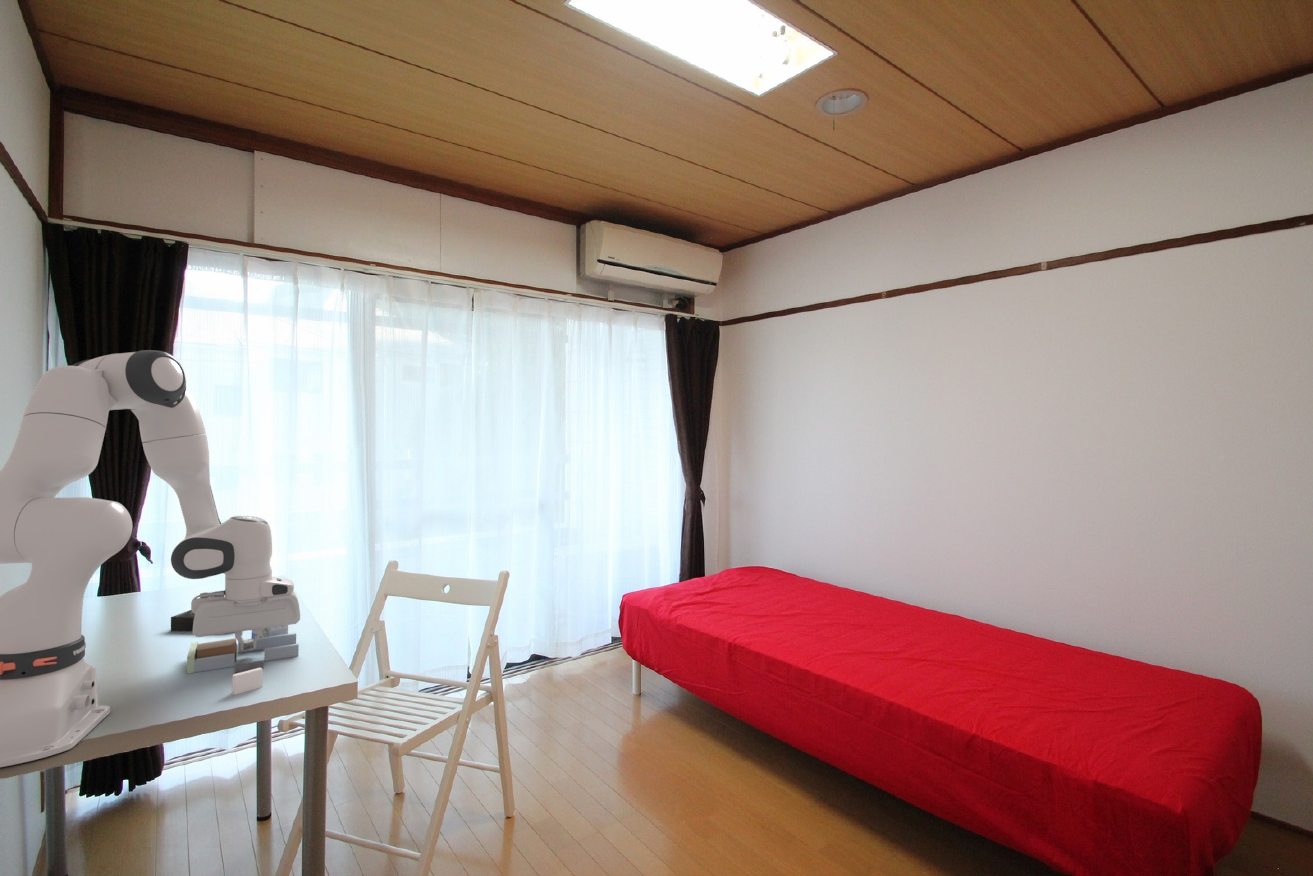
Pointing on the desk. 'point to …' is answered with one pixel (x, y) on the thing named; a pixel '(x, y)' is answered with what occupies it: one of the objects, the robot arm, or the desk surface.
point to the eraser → (247, 680)
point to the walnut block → (217, 648)
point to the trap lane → (272, 644)
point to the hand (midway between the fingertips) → (248, 649)
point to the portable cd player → (183, 621)
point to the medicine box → (272, 631)
